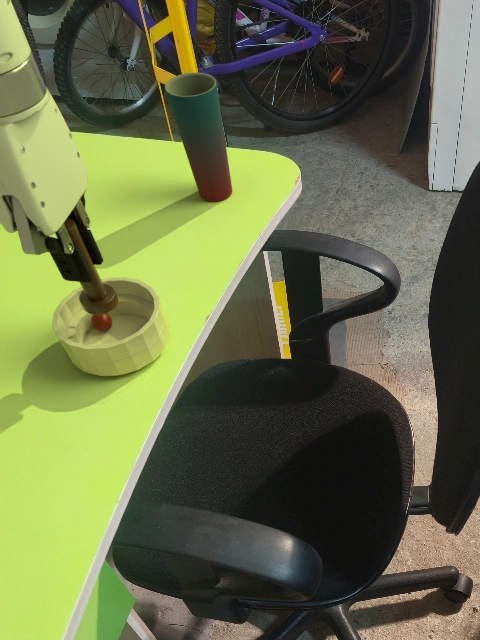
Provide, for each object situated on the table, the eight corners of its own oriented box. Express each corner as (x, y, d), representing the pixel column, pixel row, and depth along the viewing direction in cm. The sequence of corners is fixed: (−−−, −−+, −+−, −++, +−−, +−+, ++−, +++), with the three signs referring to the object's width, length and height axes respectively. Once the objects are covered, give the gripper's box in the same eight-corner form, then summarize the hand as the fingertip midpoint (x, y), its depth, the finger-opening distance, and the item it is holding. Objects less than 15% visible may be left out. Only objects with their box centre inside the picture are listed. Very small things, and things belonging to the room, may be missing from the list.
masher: (77, 313, 66) (36, 235, 58) (91, 290, 69) (53, 211, 60) (110, 316, 66) (74, 238, 58) (123, 293, 68) (90, 214, 60)
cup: (185, 200, 89) (154, 91, 76) (208, 176, 92) (182, 69, 79) (224, 209, 87) (199, 100, 75) (246, 185, 91) (225, 77, 78)
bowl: (54, 375, 70) (34, 344, 65) (93, 305, 76) (77, 273, 72) (152, 384, 68) (138, 353, 64) (183, 312, 75) (172, 280, 71)
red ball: (99, 330, 73) (92, 311, 72) (118, 327, 73) (110, 307, 72) (92, 335, 71) (84, 315, 70) (111, 331, 71) (103, 311, 70)
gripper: (-3, 39, 53) (80, 224, 68) (-102, 131, 44) (19, 318, 60) (76, 44, 52) (142, 229, 68) (-8, 138, 44) (89, 325, 59)
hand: (84, 269), depth 63 cm, fingers closed on masher, 2 cm apart
